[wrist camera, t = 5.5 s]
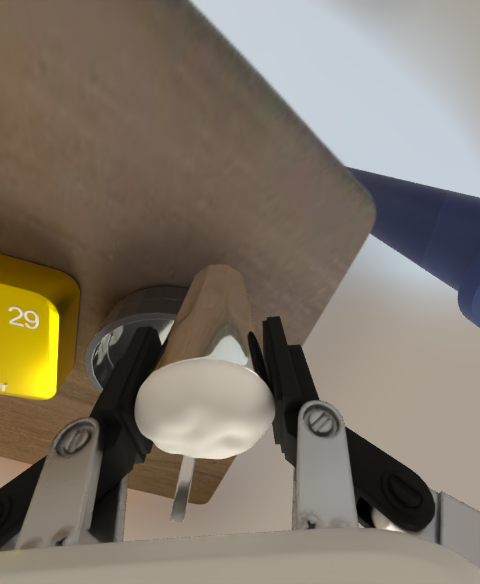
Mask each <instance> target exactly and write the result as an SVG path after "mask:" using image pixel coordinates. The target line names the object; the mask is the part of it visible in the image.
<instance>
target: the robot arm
mask: <svg viewBox="0 0 480 584" xmlns="http://www.w3.org/2000/svg"><path fill="white" fill-rule="evenodd" d="M161 347H162V344H161V341H160V337H159V334H158V331H157V329H153V327H152V326H145V327H138V328H137V329H136V331H135V333H134V335H133V337H132V339H131V341H130V344H129V346H128V348H127V350H126V352H125V354H124V356H123V358H120V359H119V360H118V361H117V363H116V365H115V367H114V369H113V371H112V373H111V375H110V377H109V379H108V381H107V383H106V385H105V387H104V389H103V391H102V392H101V394H100V396H99V398H98V400H97V402H96V404H95V406H94V408H93V410H92V412H91V414H90V416H89V417H82V418H79V419H76V420H74V421H72V422H71V423H69V424H67V425H66V426H65V427H64V428H63V429H62V430H60V431H59V433H58V434H57V435H56V436H55V438H54V440H53V442H52V444H51V446H50V449H49V452H48V454H47V455H46V456H45V457H44V458H42V459H41V460H39V461H38V462H37V463H35V464H34V465H32V466H31V467H30V468H28V469H27V470H25V471H24V472H23V473H21V474H20V475H18V476H17V477H16V478H14V479H13V480H12V481H10V482H9V483H7V484H6V485H4V486H3V487H2V488H0V584H480V512H479V511H477V510H475V509H474V508H472V507H470V506H468V505H466V504H464V503H463V502H461V501H459V500H457V499H455V498H453V497H452V496H450V495H448V494H446V493H444V492H442V491H441V492H440V493H438V492H436V491H434V490H432V489H430V488H428V487H427V485H426V483H425V482H424V481H423V480H422V479H421V478H420V477H419V476H418V475H417V474H416V473H415V472H413V471H412V470H411V469H409V468H408V467H406V466H405V465H403V464H402V463H400V462H398V461H397V460H396V459H394V458H393V457H391V456H389V455H388V454H387V453H385V452H384V451H382V450H381V449H379V448H377V447H376V446H374V445H373V444H371V443H370V442H368V441H367V440H365V439H364V438H362V437H360V436H359V435H358V434H356V433H355V432H353V431H352V430H350V429H348V428H347V427H345V423H344V420H343V417H342V415H341V414H340V412H339V411H338V410H337V409H336V408H335V407H334V406H332V405H331V404H329V403H327V402H324V401H321V400H319V397H318V394H317V392H316V389H315V386H314V383H313V380H312V377H311V374H310V371H309V368H308V365H307V362H306V359H305V356H304V353H303V350H302V348H301V346H300V345H287V341H286V338H285V334H284V330H283V327H282V323H281V319H280V317H279V316H277V317H267V321H263V355H264V363H265V367H266V371H267V375H268V379H269V383H270V386H271V390H272V394H273V397H274V400H275V417H274V420H273V422H272V425H273V432H274V438H275V444H281V450H282V453H285V459H286V460H287V461H288V462H290V463H291V464H292V465H293V466H294V476H293V506H292V530H289V531H274V532H257V533H242V534H226V535H212V536H196V537H181V538H167V539H153V540H138V541H124V542H123V535H124V523H125V522H124V521H125V511H126V499H127V487H128V473H129V472H130V471H132V469H133V465H134V464H137V463H144V461H145V457H146V454H149V453H150V452H151V449H152V446H153V441H152V440H150V439H148V438H147V437H145V436H144V435H143V434H142V433H141V432H140V430H139V428H138V426H137V424H136V421H135V415H134V409H135V402H136V397H137V394H138V391H139V389H140V387H141V385H142V384H143V382H144V380H145V378H146V376H147V374H148V372H149V370H150V368H151V366H152V364H153V362H154V360H155V358H156V356H157V354H158V352H159V351H160V349H161ZM358 522H359V523H360V524H361V525H362V526H363V527H364V528H359V525H358Z"/></svg>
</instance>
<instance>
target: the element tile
mask: <svg viewBox="0 0 480 584" xmlns="http://www.w3.org/2000/svg"><path fill="white" fill-rule="evenodd" d="M79 302H80V289H79V286H78V284H77V282H76V281H75V280H74V279H73V278H72V277H71V276H69V275H67V274H66V273H64V272H61V271H59V270H56V269H52V268H49V267H45V266H42V265H38V264H35V263H31V262H28V261H24V260H21V259H17V258H14V257H10V256H7V255H3V254H0V394H3V395H9V396H15V397H21V398H27V399H33V400H47V399H50V398H52V397H53V396H54V395H55V394H56V393H57V391H58V390H59V388H60V387H61V385H62V384H63V382H64V381H65V379H66V378H67V376H68V374H69V373H70V371H71V370H72V368H73V366H74V359H75V347H76V336H77V325H78V314H79Z"/></svg>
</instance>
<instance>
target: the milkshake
mask: <svg viewBox="0 0 480 584" xmlns="http://www.w3.org/2000/svg"><path fill="white" fill-rule="evenodd" d="M134 415H135V421H136V424H137V426H138V428H139V430H140V432H141V433H142V434H143V435H144V436H145V437H147V438H148V439H150V440H152V441H153V443H154V444H155V445H156V446H157V447H158V448H159V449H161V450H163V451H165V452H168V453H171V454H182V455H183V458H182V463H181V468H180V473H179V478H178V483H177V488H176V492H175V497H174V502H173V507H172V512H171V518H170V519H171V521H177V522H183V521H184V519H185V514H186V508H187V503H188V497H189V492H190V486H191V481H192V475H193V470H194V464H195V459H196V458H210V459H224V458H228V457H231V456H234V455H237V454H239V453H242V452H244V451H246V450H248V449H249V448H250V447H252V446H253V445H254V444H255V443H257V441H258V440H259V439H260V438H261V437H262V436H263V434H264V433H265V432H266V431H267V429H268V428H269V427H270V425H271V424H272V422H273V420H274V417H275V400H274V397H273V394H272V390H271V386H270V383H269V379H268V375H267V371H266V367H265V363H264V360H263V356H262V352H261V348H260V345H259V342H258V338H257V334H256V329H255V324H254V320H253V315H252V310H251V306H250V301H249V296H248V292H247V288H246V285H245V282H244V279H243V276H242V274H241V273H239V272H238V271H236V270H235V269H233V268H232V267H230V266H229V265H209V266H207V267H206V268H204V269H203V270H201V271H200V272H198V273H197V274H196V275H195V277H194V279H193V282H192V284H191V286H190V288H189V290H188V293H187V295H186V297H185V299H184V301H183V303H182V306H181V308H180V310H179V312H178V314H177V317H176V319H175V321H174V323H173V325H172V327H171V329H170V331H169V333H168V335H167V337H166V339H165V341H164V343H163V345H162V347H161V349H160V351H159V352H158V354H157V356H156V358H155V360H154V362H153V364H152V366H151V368H150V370H149V372H148V374H147V376H146V378H145V380H144V382H143V384H142V385H141V387H140V389H139V391H138V394H137V397H136V402H135V409H134Z"/></svg>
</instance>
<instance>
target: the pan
mask: <svg viewBox="0 0 480 584" xmlns="http://www.w3.org/2000/svg"><path fill="white" fill-rule="evenodd" d="M188 290H189V289H187V288H179V287H172V286H163V287H152V288H146V289H143V290H140V291H137V292H134V293H131V294H129V295H128V296H126V297H125V298H124V299H122V300H121V301H119V302H118V303H116V304H115V306H114V307H113V308H112V310H111V311H110V313H109V314H108V315H107V317H106V318H105V320H104V321H103V323H102V324H101V326H100V327H99V329H98V331H97V332H96V334H95V335H94V337H93V338H92V340H91V341H90V343H89V344H88V347H87V351H86V355H85V360H84V361H85V366H86V372H87V375H88V377H89V379H90V380H91V382H92V384H93V385H94V387H95V388H96V389H97V390H98V391H99V392H100V393H101V392H102V391H103V389H104V387H105V385H106V383H107V381H108V379H109V377H110V375H111V373H112V371H113V369H114V367H115V365H116V363H117V361H118V360H119V359H120V358H123V356H124V354H125V352H126V350H127V348H128V346H129V344H130V341H131V339H132V337H133V335H134V333H135V331H136V329H137V328H138V327H145V326H152V327H153V329H157V331H158V334H159V337H160V341H161V344H162V345H163V343H164V341H165V339H166V337H167V335H168V333H169V331H170V329H171V327H172V325H173V323H174V321H175V319H176V317H177V314H178V312H179V310H180V308H181V306H182V303H183V301H184V299H185V297H186V295H187V293H188Z"/></svg>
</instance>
